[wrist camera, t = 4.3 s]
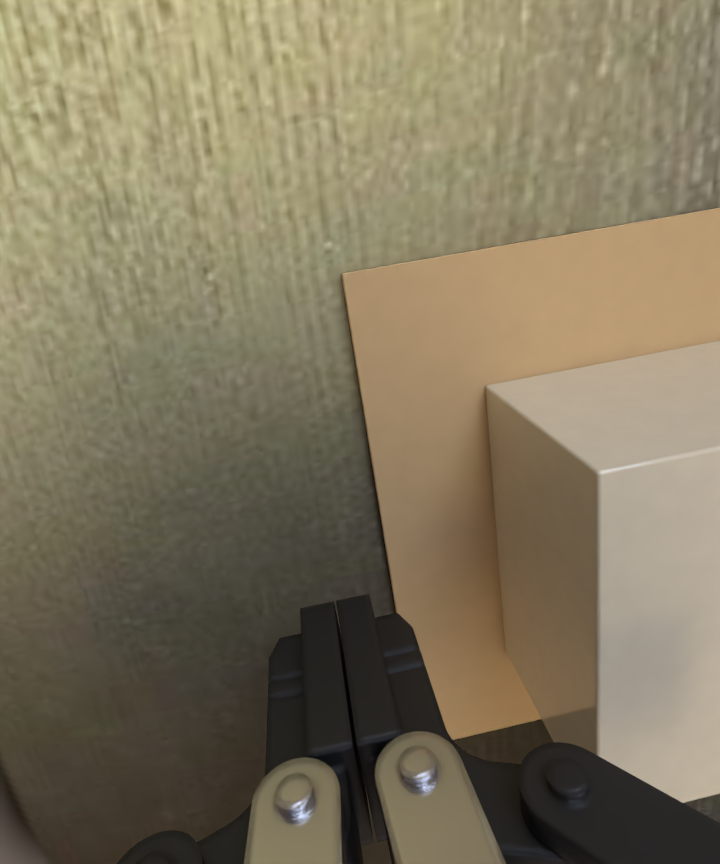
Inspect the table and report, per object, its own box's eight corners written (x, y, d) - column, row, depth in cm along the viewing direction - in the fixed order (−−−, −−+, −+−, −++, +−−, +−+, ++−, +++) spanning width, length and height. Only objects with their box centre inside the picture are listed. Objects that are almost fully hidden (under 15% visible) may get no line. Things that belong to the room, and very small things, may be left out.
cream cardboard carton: (504, 650, 16) (597, 826, 11) (484, 385, 13) (598, 472, 8) (700, 606, 16) (869, 757, 12) (723, 339, 13) (960, 397, 9)
